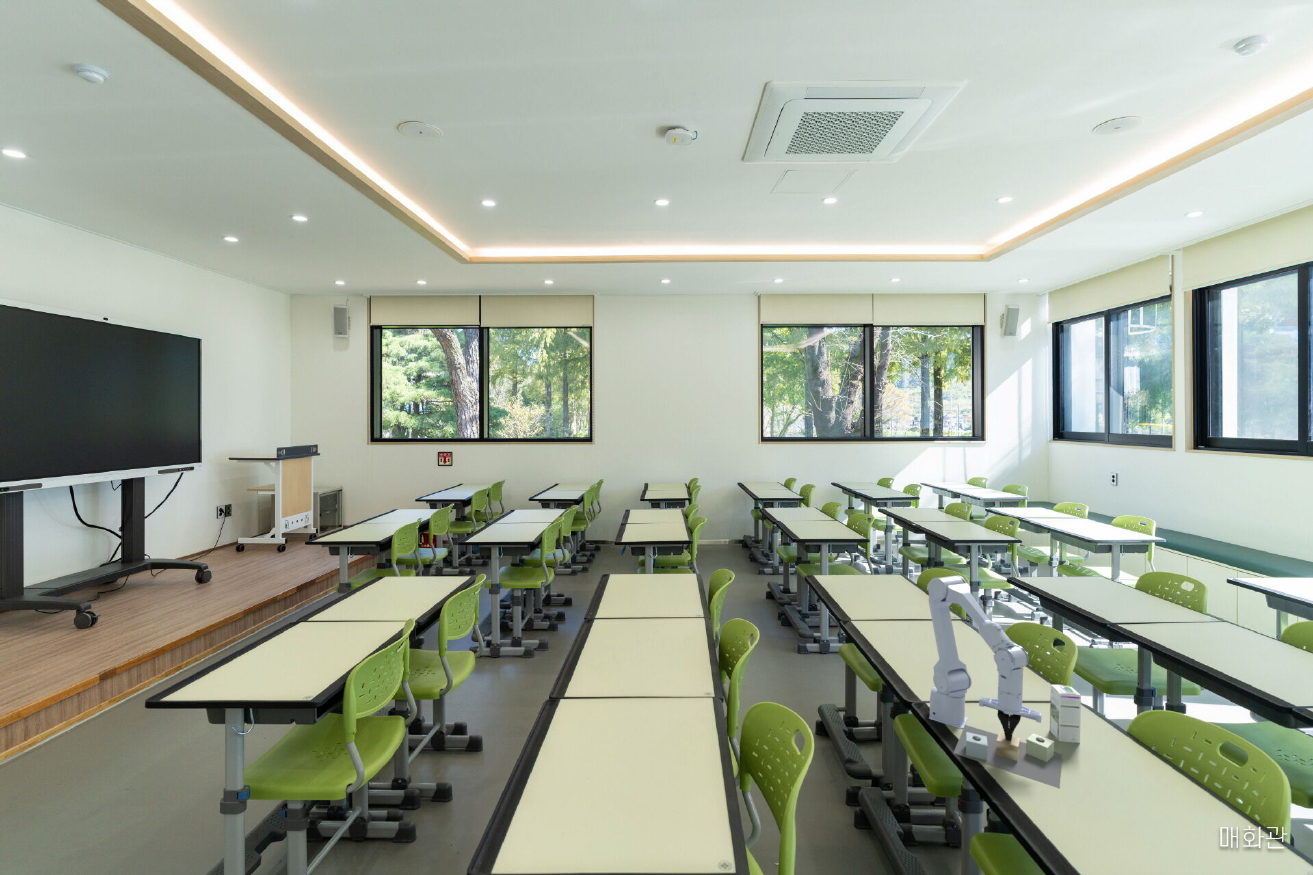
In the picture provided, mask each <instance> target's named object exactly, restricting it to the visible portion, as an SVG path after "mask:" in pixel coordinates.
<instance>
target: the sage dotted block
mask: <svg viewBox="0 0 1313 875" xmlns="http://www.w3.org/2000/svg"><path fill="white" fill-rule="evenodd" d="M1025 741H1026V742H1025V743H1026V754H1029V755H1031V756H1033V757H1036V758H1038V759H1040V760H1043V761H1045V762H1048V761H1049V760H1050V759H1051V758H1052V757H1053V756H1054V752H1055V748H1054V747H1055V741H1054V740H1052V739H1049V738H1046V737H1044V736H1041V735H1039V734H1037V733H1032V734H1031V735H1030V736H1028V738H1026V740H1025Z"/></svg>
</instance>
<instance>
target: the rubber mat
mask: <svg viewBox="0 0 1313 875" xmlns="http://www.w3.org/2000/svg"><path fill="white" fill-rule="evenodd" d="M966 732H969V733H974V734H978V735H982V736H986V737H987V744H988V752H987V760H984V759H980V758H976V757H972V756H968V755H966ZM998 735H999V734H997V733H994V732H992V731H991V732H990V731H988V730H984V729H980V728H976V727H974V726H970V725H967V724H965V726H964V729H962V732H961V734H960V736H959V738H958V741H957V743H956V746H955V748H954V751H953V754H956V755H958V756H961V757H964V758H967V759H970V760H974V761H976V762H978V763H979V762H980V763H983V764H986V765H988V766H991V767H994V768H998V769H999V770H1004V771H1007V772H1009V773H1012V774H1015V775H1018V776H1020V777H1021V776H1022V777H1024V778H1027V779H1031V780H1033V781H1037V782H1039V783H1043V784H1045V785H1048V786H1051V787H1054V788H1057V789H1060V788H1061V776H1062V765H1063V753H1060V752H1056V751H1054V756H1053V757H1052V758H1051V759H1050V760H1049V761H1048V762H1045V761H1043V760H1040V759H1038V758H1036V757H1033V756H1031V755H1029V754H1026V742H1023V741H1020V753H1019V758H1018V761H1015V760H1012V759H1009V758H1006V757H1003V756H999V755H996V749H997V738H998Z"/></svg>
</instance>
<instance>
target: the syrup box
mask: <svg viewBox="0 0 1313 875" xmlns="http://www.w3.org/2000/svg"><path fill="white" fill-rule="evenodd" d="M1049 696H1050V698H1049V699H1050V701H1049V703H1050V704H1049V731H1050V732H1051V734H1052V736H1054V738H1056V740H1057V741H1059V742H1066V743H1076V744H1080V743H1081V708H1082V707H1081V706H1082V705H1081V701H1082V698H1081V697H1082V695H1081V694H1080V693H1079V692H1078V691H1077V690H1075V689H1074V688H1073V686H1071V685H1065V684H1050V695H1049Z"/></svg>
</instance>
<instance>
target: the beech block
mask: <svg viewBox="0 0 1313 875" xmlns="http://www.w3.org/2000/svg"><path fill="white" fill-rule="evenodd" d="M997 735H998V738H997V749H996V755H999V756H1003V757H1006V758H1009V759H1012V760H1015V761H1018V758H1019V753H1020V742H1021V738H1020V737H1015V736H1013V735H1012V740H1011V741H1010V740H1006V739H1005V733H1004V732H1003V733H1002V732H998V734H997Z"/></svg>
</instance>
